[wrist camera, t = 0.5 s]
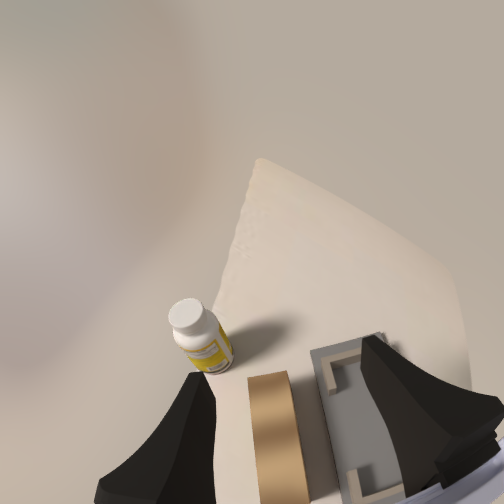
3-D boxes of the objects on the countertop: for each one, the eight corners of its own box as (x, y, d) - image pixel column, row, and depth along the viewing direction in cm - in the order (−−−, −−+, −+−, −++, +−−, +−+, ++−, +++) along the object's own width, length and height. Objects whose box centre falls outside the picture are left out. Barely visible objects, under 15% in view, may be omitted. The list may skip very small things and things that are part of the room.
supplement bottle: (206, 336, 37) (179, 288, 31) (241, 346, 35) (219, 297, 29) (187, 368, 34) (153, 325, 28) (223, 381, 31) (194, 338, 25)
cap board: (432, 495, 14) (442, 494, 12) (346, 526, 15) (349, 530, 13) (378, 335, 31) (382, 322, 30) (310, 353, 32) (309, 341, 30)
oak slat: (311, 501, 18) (309, 503, 15) (270, 507, 18) (261, 509, 15) (291, 388, 29) (286, 370, 26) (257, 394, 29) (247, 377, 26)
